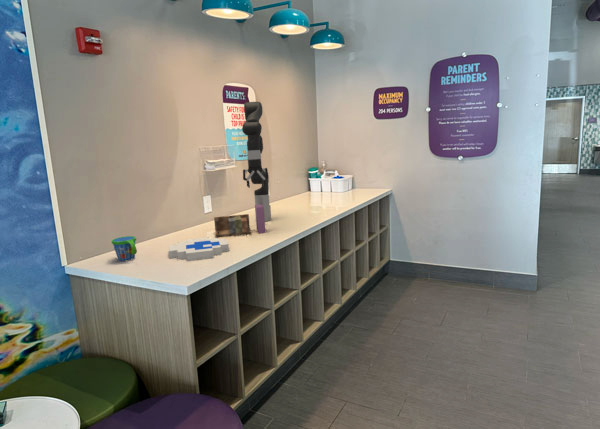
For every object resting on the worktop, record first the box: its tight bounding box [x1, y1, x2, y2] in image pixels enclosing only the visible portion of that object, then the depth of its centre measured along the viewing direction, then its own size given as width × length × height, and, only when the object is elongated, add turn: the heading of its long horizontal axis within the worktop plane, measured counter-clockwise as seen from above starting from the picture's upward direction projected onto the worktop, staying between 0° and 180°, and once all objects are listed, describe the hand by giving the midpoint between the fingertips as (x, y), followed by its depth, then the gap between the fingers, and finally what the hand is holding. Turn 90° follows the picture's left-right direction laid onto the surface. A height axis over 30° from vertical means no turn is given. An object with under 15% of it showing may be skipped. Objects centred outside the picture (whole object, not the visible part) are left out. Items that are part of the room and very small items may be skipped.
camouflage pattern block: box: [213, 213, 252, 239], centre depth 241 cm, size 20×12×10 cm, turn 102°
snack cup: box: [111, 235, 138, 262], centre depth 199 cm, size 16×10×10 cm
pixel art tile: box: [168, 236, 230, 262], centre depth 207 cm, size 28×4×28 cm
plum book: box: [254, 204, 266, 234], centre depth 243 cm, size 4×10×15 cm, turn 12°
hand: (256, 186), depth 239 cm, fingers open, 8 cm apart
